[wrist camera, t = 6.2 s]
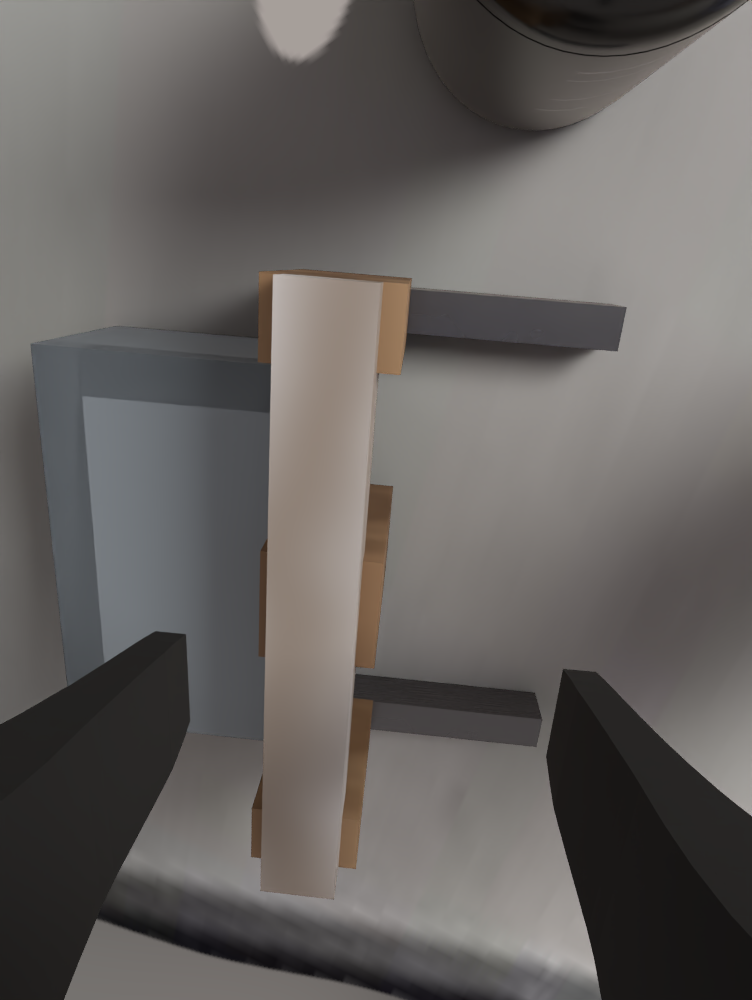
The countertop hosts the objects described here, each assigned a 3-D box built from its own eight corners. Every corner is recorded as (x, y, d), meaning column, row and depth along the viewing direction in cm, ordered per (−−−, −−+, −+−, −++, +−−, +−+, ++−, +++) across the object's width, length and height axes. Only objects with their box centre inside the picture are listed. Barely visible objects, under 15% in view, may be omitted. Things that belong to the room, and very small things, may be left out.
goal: (310, 342, 20) (278, 365, 16) (297, 652, 24) (269, 741, 20) (116, 325, 20) (30, 343, 16) (135, 635, 24) (70, 719, 20)
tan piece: (412, 277, 19) (407, 285, 12) (371, 722, 24) (352, 901, 17) (309, 269, 19) (246, 272, 12) (291, 714, 24) (242, 888, 17)
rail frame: (611, 304, 19) (626, 307, 18) (529, 719, 25) (536, 746, 23) (296, 277, 20) (286, 278, 18) (282, 692, 25) (274, 718, 23)
